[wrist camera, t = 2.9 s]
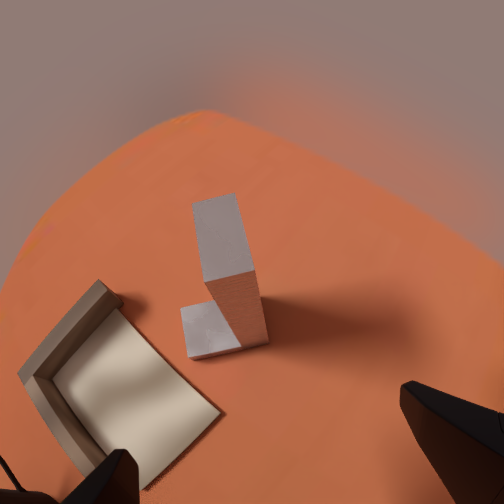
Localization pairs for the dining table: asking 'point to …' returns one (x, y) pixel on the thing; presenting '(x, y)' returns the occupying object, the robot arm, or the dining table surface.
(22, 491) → the coffee mug
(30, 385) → the corner fixture
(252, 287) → the bracket
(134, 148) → the dining table surface
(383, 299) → the dining table surface
